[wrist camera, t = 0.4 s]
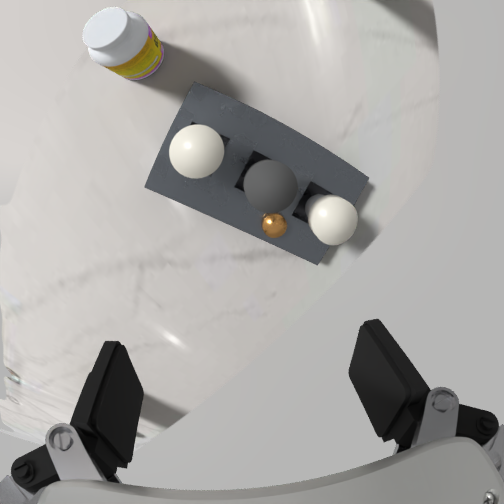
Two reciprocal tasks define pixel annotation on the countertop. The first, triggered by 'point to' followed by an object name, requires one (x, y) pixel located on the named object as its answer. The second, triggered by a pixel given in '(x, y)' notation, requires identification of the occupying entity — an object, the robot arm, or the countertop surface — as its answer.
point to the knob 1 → (196, 151)
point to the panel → (241, 159)
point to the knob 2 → (331, 218)
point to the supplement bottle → (123, 43)
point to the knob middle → (270, 186)
